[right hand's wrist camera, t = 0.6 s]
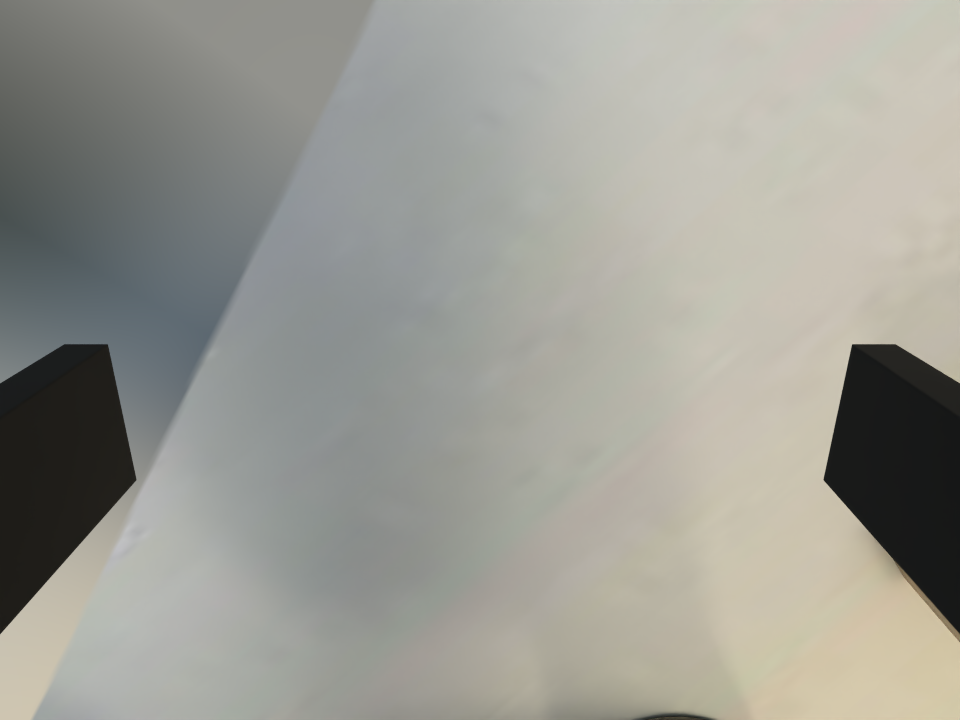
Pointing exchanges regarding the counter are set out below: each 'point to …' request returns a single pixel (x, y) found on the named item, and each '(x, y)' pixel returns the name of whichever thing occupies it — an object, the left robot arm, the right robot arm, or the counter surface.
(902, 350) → the right robot arm
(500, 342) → the counter surface
